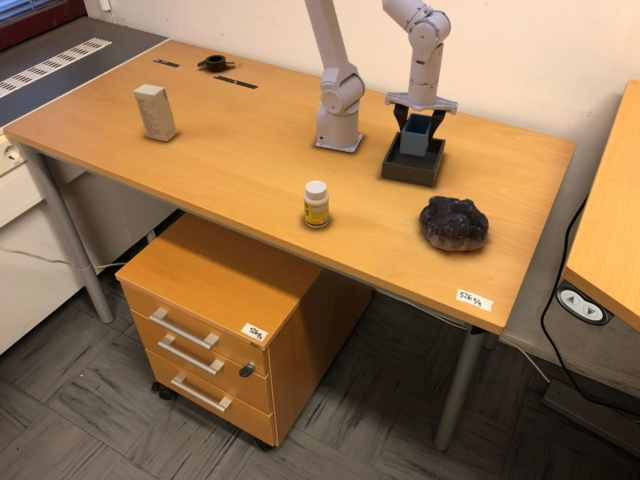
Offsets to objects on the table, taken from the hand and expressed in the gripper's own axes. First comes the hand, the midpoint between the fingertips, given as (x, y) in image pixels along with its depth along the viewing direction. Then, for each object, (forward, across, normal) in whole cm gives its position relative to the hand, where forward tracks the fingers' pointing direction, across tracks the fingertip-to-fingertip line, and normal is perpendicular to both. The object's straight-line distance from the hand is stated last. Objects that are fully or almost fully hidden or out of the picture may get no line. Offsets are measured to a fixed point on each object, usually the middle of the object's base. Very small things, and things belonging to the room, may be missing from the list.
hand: (416, 138), depth 110 cm
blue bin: (+1, 0, 0) cm, 1 cm away
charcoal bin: (+7, 0, 0) cm, 7 cm away
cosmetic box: (+7, -61, -6) cm, 62 cm away
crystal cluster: (+7, +12, -19) cm, 24 cm away
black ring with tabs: (+7, -66, +32) cm, 73 cm away
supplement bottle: (+7, -14, -24) cm, 29 cm away
